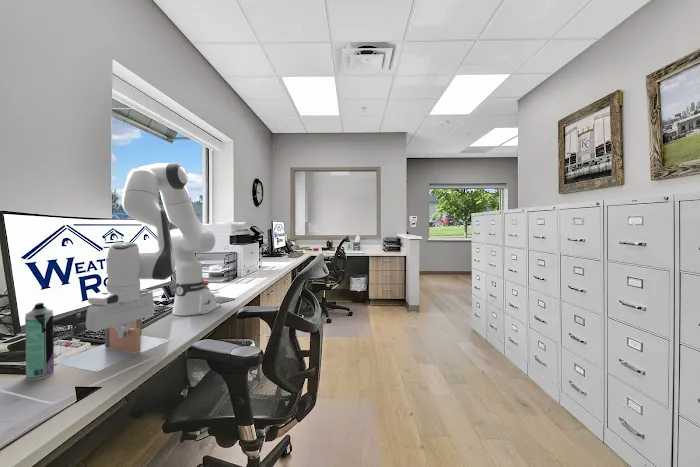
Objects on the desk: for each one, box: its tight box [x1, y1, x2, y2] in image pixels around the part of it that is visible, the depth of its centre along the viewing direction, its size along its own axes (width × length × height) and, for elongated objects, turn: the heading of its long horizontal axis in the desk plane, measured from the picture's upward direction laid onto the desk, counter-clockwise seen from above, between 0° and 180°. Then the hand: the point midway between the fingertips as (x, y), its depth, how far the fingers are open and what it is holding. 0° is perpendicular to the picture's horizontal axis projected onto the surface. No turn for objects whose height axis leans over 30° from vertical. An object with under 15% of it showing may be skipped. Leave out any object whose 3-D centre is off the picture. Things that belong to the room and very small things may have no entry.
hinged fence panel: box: [104, 327, 140, 352], centre depth 105 cm, size 14×2×7 cm, turn 74°
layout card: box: [54, 334, 172, 373], centre depth 105 cm, size 26×18×1 cm
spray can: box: [24, 302, 55, 381], centre depth 87 cm, size 6×6×20 cm
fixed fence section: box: [123, 319, 142, 336], centre depth 113 cm, size 10×2×8 cm, turn 163°
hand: (123, 336), depth 103 cm, fingers closed
